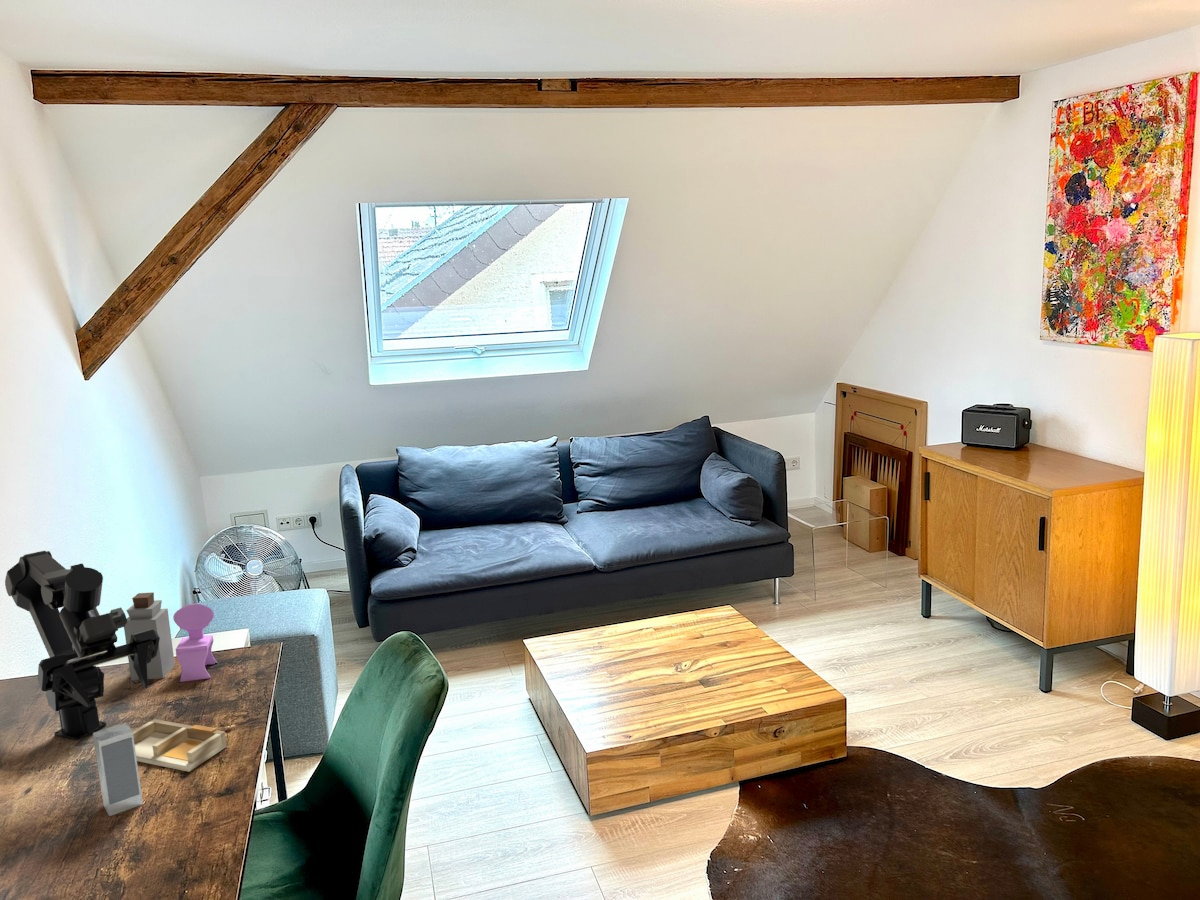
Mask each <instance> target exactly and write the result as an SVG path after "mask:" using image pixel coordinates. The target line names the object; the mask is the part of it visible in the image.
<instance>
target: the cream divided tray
mask: <svg viewBox="0 0 1200 900" xmlns="http://www.w3.org/2000/svg"><path fill="white" fill-rule="evenodd" d="M132 731H133V737H134V744H135V751H136V759H137V762H140V763H145V764H149V765H154V766H159V767H165V768H168V769H169V768H170V769H174V770H179V771H182V772H183V771H184V772H191V771H192V770H194V769H196V768H197V767H198V766H200V765H202V764H203V763H204V762H206V761H208V760H209V759H211V758H212V757H213V756H215V755H216V754H218V753H219V752H221V751H222V750H224V749H227V739H226V732H225V731H223V730H218V729H217V728H216V727H210V726H206V725H200V724H194V725H189V724H184V723H178V722H173V721H167V720H163V719H156V718H154V719H152V720H150V721H148V722H146V723H145V724H143V725H141V726H140V727H138V728H136V729H134V730H132Z"/></svg>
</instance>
